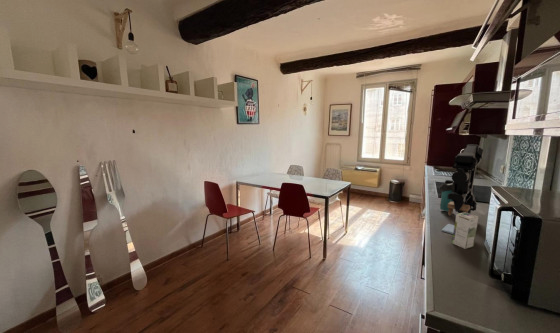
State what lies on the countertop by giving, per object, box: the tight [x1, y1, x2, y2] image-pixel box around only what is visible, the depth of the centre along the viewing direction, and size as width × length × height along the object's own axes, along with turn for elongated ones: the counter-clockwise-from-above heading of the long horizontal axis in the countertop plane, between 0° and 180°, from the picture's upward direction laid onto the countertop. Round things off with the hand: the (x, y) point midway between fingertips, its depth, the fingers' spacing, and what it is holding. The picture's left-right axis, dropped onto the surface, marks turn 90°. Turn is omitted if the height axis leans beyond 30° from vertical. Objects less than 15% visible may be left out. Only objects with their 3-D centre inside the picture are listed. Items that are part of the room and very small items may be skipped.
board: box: [441, 223, 455, 235], centre depth 117 cm, size 11×9×1 cm
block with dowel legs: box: [447, 202, 470, 216], centre depth 116 cm, size 8×5×6 cm, turn 40°
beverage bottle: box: [439, 179, 454, 212], centre depth 142 cm, size 6×7×20 cm
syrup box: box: [451, 212, 479, 250], centre depth 102 cm, size 6×6×14 cm
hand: (458, 210), depth 116 cm, fingers closed on block with dowel legs, 5 cm apart
